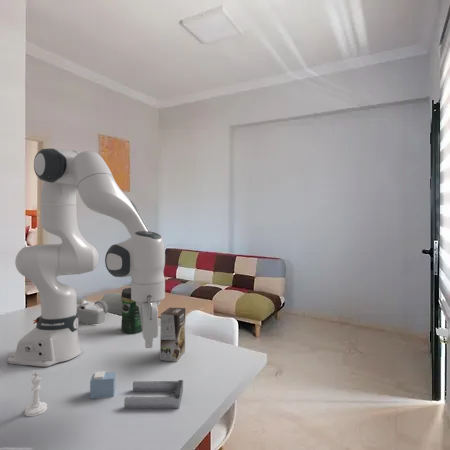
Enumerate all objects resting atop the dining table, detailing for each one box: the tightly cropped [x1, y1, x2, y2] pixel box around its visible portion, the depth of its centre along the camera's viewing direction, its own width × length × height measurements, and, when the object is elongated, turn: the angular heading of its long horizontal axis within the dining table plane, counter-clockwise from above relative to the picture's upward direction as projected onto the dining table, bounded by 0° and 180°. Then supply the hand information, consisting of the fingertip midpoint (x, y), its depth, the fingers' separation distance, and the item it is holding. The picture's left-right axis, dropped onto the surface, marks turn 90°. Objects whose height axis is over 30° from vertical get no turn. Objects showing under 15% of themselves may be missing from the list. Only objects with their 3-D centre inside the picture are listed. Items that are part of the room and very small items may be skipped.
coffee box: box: [159, 307, 186, 363], centre depth 113 cm, size 9×6×16 cm
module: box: [89, 370, 117, 399], centre depth 88 cm, size 6×4×6 cm, turn 101°
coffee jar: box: [120, 287, 142, 335], centre depth 137 cm, size 10×8×19 cm
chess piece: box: [24, 370, 48, 417], centre depth 80 cm, size 5×5×10 cm
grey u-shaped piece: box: [123, 379, 184, 410], centre depth 86 cm, size 14×9×3 cm, turn 91°
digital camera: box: [77, 299, 109, 325], centre depth 150 cm, size 17×14×10 cm
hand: (148, 343), depth 86 cm, fingers open, 4 cm apart
